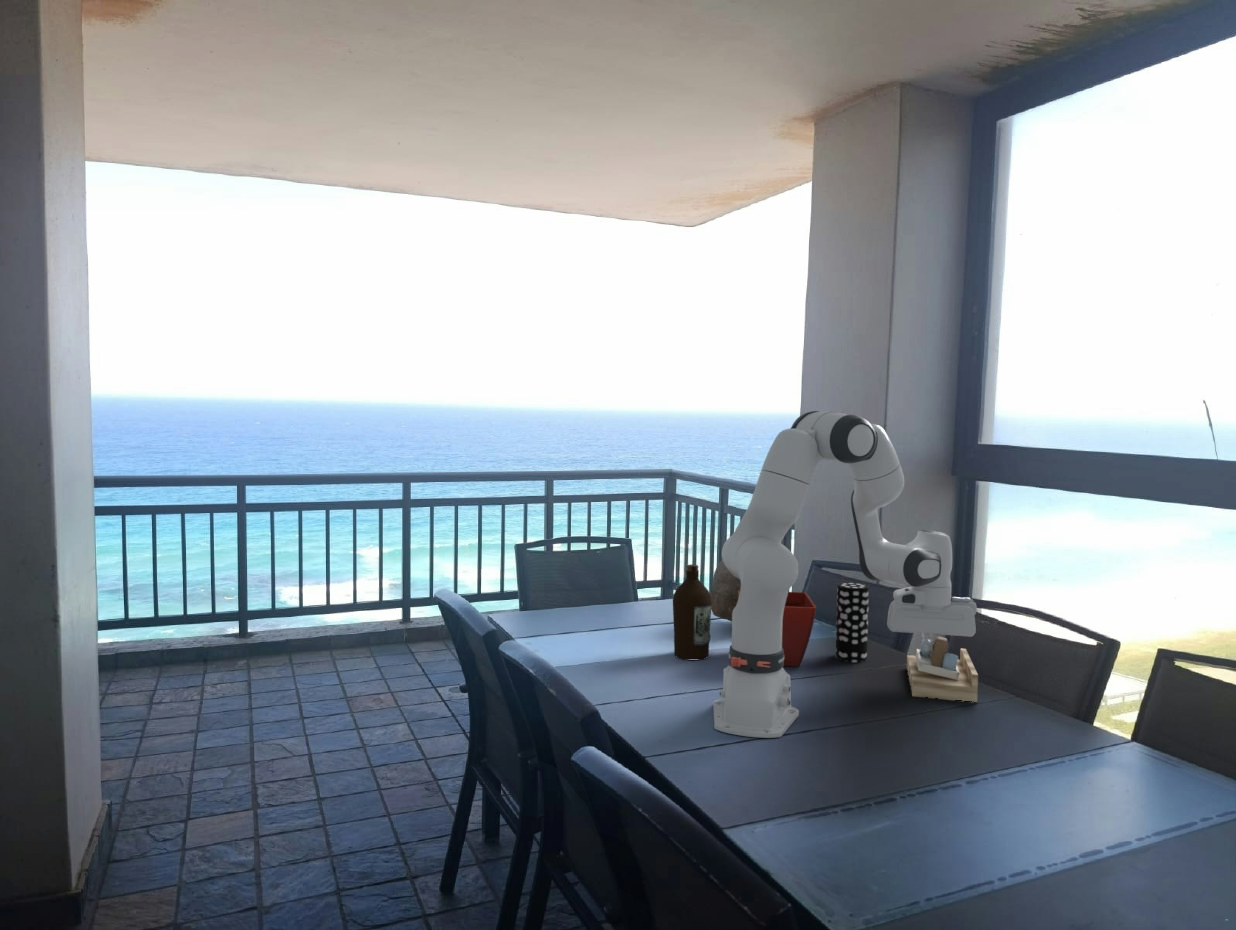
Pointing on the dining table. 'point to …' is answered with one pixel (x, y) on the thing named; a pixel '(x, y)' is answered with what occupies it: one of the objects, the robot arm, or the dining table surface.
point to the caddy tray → (934, 669)
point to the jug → (724, 592)
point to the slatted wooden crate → (945, 681)
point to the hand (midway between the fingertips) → (929, 651)
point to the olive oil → (692, 617)
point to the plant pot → (796, 626)
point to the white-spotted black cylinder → (852, 622)
